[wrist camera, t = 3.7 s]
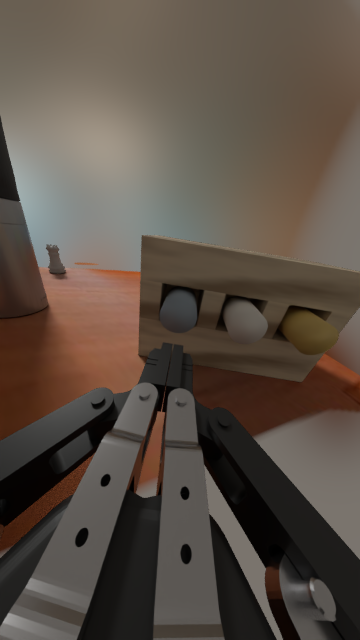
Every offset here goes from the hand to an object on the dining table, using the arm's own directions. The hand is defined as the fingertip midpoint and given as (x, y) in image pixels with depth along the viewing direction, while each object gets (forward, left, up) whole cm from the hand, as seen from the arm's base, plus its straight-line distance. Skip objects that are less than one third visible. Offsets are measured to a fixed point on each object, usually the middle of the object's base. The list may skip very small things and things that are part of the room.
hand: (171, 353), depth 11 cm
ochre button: (+17, -2, -2) cm, 17 cm away
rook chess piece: (-11, +57, -9) cm, 59 cm away
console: (+14, +7, -9) cm, 18 cm away
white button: (+11, +3, -2) cm, 11 cm away
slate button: (+5, +7, -2) cm, 9 cm away
